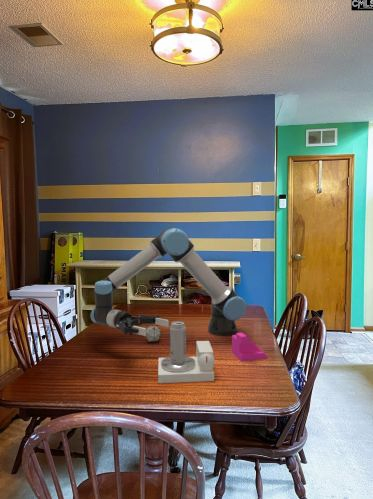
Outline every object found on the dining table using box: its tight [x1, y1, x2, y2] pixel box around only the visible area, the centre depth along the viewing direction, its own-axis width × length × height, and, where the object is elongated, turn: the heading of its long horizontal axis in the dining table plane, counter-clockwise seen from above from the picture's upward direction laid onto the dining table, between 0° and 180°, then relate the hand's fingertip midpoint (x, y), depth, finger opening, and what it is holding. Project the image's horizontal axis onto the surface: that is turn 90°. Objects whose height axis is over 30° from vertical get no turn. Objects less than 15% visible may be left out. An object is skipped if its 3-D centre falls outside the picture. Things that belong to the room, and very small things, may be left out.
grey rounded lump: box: [145, 324, 163, 344], centre depth 168 cm, size 9×8×10 cm
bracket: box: [231, 332, 269, 362], centre depth 150 cm, size 12×10×10 cm
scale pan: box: [161, 355, 195, 373], centre depth 133 cm, size 13×13×1 cm
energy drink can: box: [169, 321, 187, 365], centre depth 132 cm, size 6×6×15 cm
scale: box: [157, 340, 216, 384], centre depth 133 cm, size 20×16×10 cm
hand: (157, 327), depth 139 cm, fingers open, 13 cm apart
